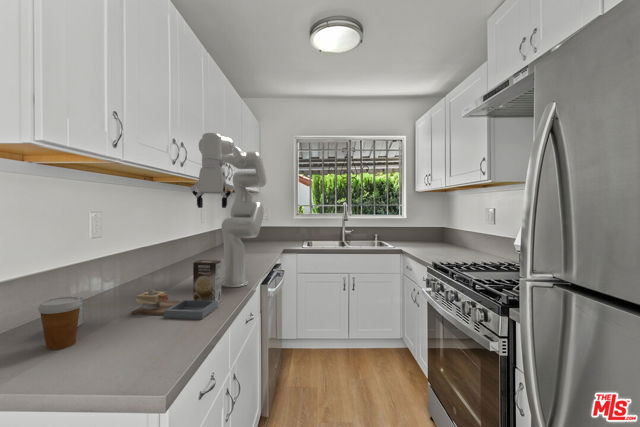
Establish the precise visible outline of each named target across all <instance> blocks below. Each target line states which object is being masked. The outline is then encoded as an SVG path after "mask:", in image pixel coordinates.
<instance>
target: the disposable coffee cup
mask: <svg viewBox="0 0 640 427" xmlns="http://www.w3.org/2000/svg"><path fill="white" fill-rule="evenodd" d="M79 297H80V296H79ZM79 297H78V296H61V297H53V298H49V299H46V300H43V301H41V302H40V303H39V307H37V311H38V312H39V314H40V318H41V324H42V331H43V335H44V336H43V337H44V341H45V342H44V343H45V347H46V349H47V350H51V351H52V350H55V351H56V350H61V349H66V348H68V347H71V346H73V345H75V344H76V341H77V331H78V327H79V326H78V318H79V310H80V306H81V304H82V302H81V301H80V298H79ZM77 326H78V327H77Z"/></svg>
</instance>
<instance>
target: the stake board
mask: <svg viewBox="0 0 640 427" xmlns="http://www.w3.org/2000/svg"><path fill="white" fill-rule="evenodd" d="M147 291H148V295H154V291H155V288H150V289H147ZM181 301H182V300H166V301H164V302H163V301H160V302H158V303H156V304H142V306H140V307H138V308H135V309H133V310H132V311H131V315H145V316H146V315H148V316H150V315H151V316H165V314H164V310H166V309H168V308H170V307H172V306H173V305H175V304H177V303H179V302H181Z"/></svg>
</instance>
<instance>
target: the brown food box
mask: <svg viewBox="0 0 640 427" xmlns="http://www.w3.org/2000/svg"><path fill="white" fill-rule="evenodd" d="M192 266H193V267H192V268H193V270H192V273H193V274H192V275H193V278H192V283H193V284H192V286H193V287H192V300H208V301H218V304H219V303H220V302H221V301H222V286H221V282H222V260H214V259H213V260H212V259H199V260H196V261H194V262H193V265H192Z"/></svg>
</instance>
